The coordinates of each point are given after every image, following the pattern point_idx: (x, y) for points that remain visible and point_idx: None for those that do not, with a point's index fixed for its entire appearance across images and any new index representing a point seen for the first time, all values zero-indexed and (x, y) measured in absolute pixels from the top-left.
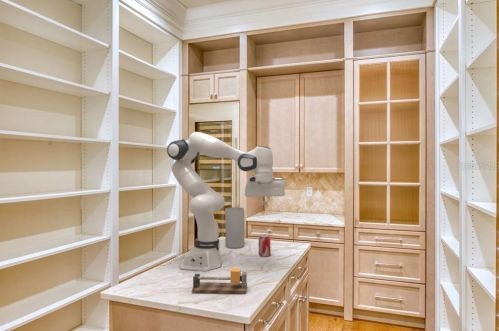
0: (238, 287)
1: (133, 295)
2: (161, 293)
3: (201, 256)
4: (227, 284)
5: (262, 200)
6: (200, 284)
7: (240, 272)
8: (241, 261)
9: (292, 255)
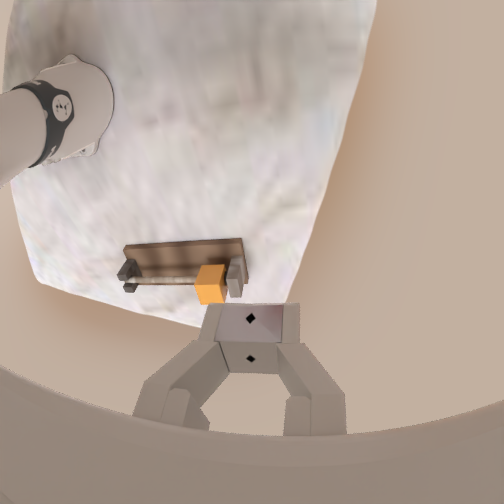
0: (226, 269)
1: (70, 288)
2: (96, 281)
3: (56, 161)
4: (194, 256)
5: (211, 385)
6: (137, 260)
7: (221, 282)
8: (163, 23)
9: None
